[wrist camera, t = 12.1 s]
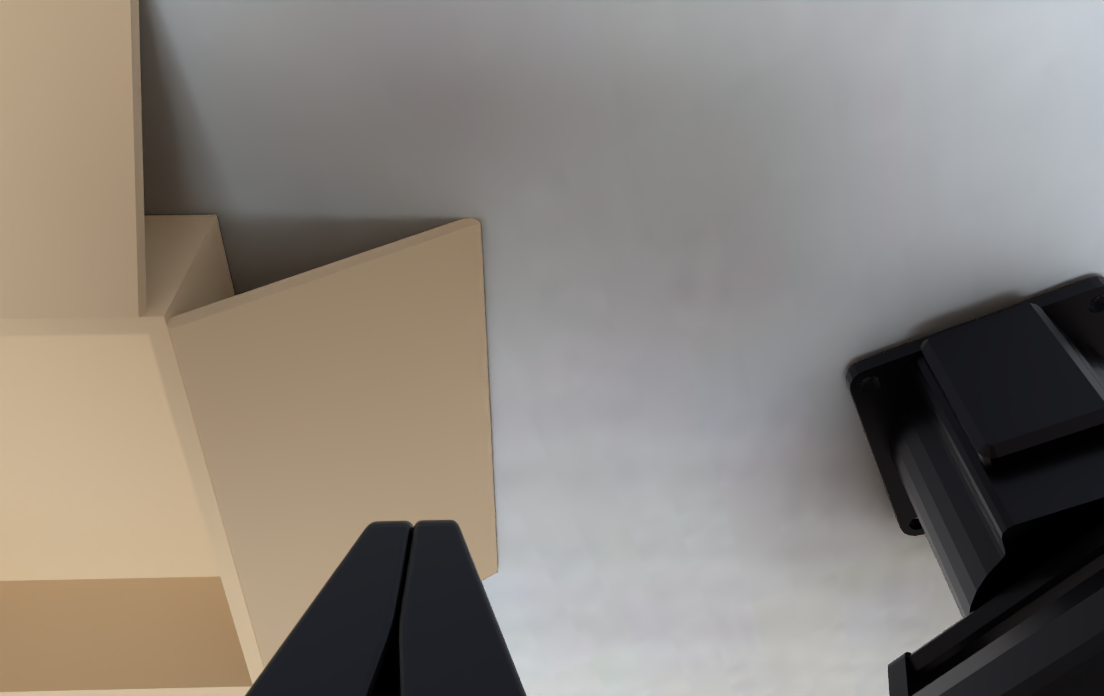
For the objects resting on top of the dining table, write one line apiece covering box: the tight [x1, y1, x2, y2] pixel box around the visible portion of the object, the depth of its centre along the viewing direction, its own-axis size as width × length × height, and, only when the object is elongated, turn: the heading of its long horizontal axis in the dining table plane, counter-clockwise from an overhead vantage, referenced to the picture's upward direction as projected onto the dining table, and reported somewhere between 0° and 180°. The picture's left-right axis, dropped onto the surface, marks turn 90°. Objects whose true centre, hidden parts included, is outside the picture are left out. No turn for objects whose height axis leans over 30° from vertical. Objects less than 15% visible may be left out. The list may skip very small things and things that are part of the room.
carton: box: [0, 0, 498, 696], centre depth 24 cm, size 16×24×4 cm
